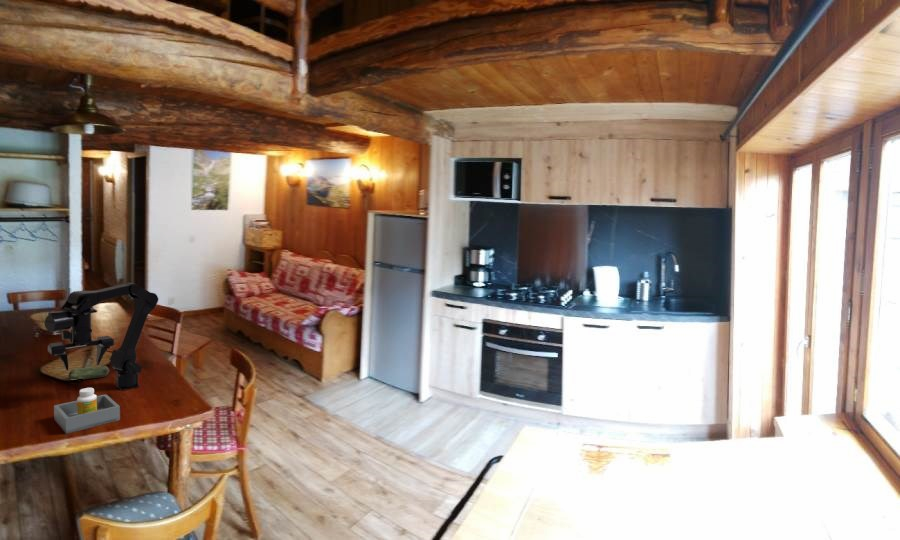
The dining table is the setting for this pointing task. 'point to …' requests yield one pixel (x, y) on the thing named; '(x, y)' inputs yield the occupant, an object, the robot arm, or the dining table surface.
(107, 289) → the robot arm
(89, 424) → the tote
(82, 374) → the vegetable
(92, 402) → the supplement bottle
